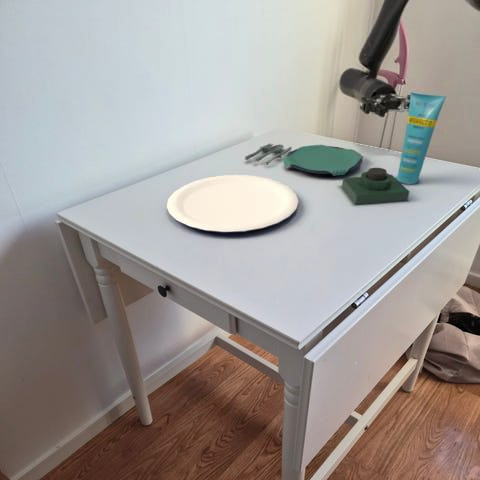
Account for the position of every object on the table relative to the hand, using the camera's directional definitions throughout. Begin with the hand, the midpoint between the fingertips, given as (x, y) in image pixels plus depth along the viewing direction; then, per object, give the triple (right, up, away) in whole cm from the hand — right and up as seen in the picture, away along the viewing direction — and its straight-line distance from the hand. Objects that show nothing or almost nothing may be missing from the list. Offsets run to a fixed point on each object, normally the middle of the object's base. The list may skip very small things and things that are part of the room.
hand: (400, 111), depth 104 cm
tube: (+1, -17, 0) cm, 17 cm away
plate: (-41, -26, -9) cm, 49 cm away
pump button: (-9, -19, -8) cm, 22 cm away
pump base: (-9, -22, -6) cm, 24 cm away
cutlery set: (-22, -8, +11) cm, 26 cm away
